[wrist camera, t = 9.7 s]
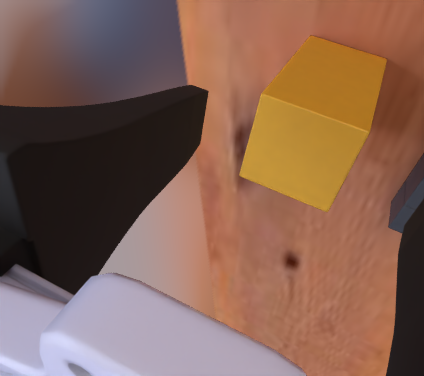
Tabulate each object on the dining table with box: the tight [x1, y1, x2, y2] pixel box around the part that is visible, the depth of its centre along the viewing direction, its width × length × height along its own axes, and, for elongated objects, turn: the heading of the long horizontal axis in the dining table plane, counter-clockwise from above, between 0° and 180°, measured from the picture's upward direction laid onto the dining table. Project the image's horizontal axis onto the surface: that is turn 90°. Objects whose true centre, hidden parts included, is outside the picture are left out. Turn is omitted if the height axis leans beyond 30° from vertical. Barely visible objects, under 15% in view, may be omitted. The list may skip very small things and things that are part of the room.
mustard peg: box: [240, 35, 387, 212], centre depth 17 cm, size 4×4×8 cm
